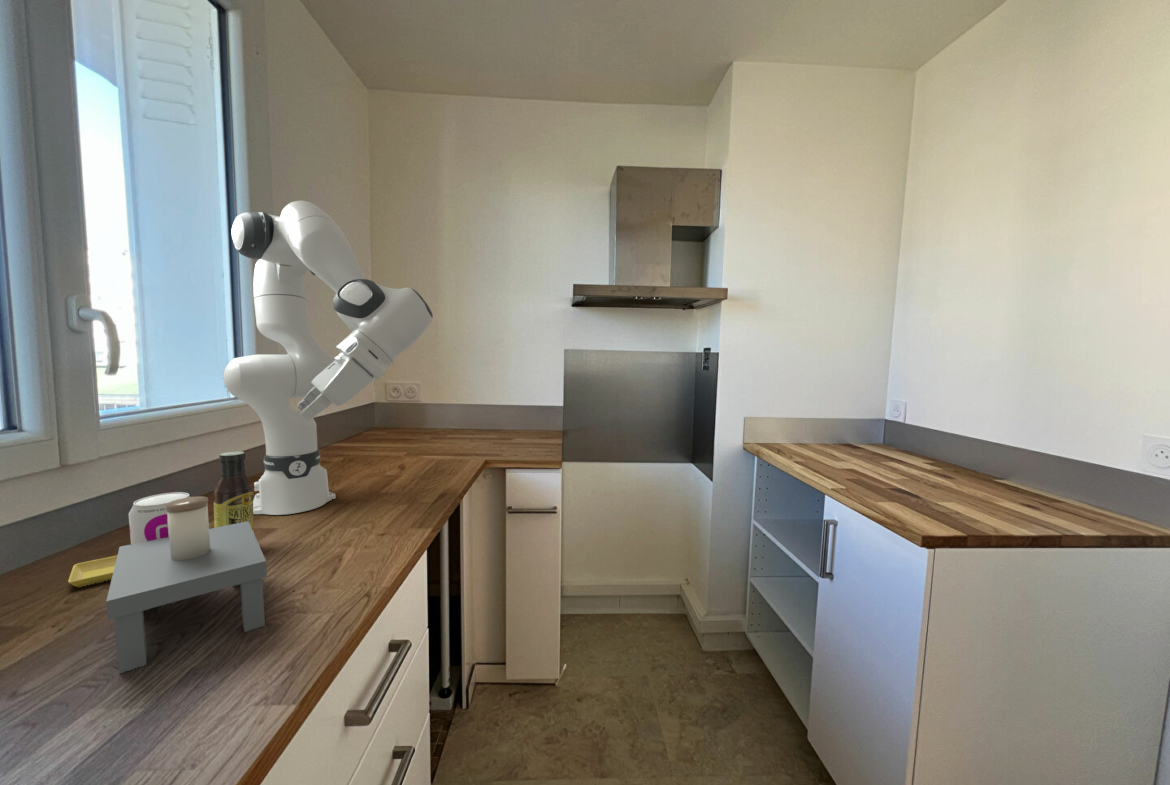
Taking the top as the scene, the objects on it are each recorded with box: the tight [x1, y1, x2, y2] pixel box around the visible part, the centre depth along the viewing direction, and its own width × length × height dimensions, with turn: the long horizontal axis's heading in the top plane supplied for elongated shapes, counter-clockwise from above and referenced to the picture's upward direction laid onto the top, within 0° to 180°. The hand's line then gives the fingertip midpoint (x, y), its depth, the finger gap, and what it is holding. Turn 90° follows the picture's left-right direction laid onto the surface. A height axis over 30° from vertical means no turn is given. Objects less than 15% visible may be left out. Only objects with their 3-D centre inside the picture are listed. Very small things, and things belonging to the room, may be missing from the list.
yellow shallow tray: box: [67, 554, 118, 588], centre depth 81 cm, size 9×9×2 cm
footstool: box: [105, 521, 268, 675], centre depth 68 cm, size 20×16×10 cm
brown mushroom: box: [166, 495, 210, 560], centre depth 67 cm, size 5×5×8 cm
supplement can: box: [128, 491, 191, 545], centre depth 77 cm, size 8×8×15 cm
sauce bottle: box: [213, 451, 255, 534], centre depth 90 cm, size 6×6×20 cm
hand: (302, 413), depth 79 cm, fingers open, 8 cm apart
